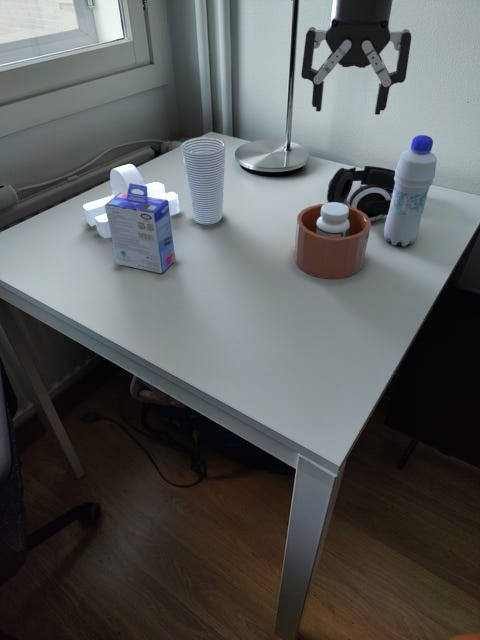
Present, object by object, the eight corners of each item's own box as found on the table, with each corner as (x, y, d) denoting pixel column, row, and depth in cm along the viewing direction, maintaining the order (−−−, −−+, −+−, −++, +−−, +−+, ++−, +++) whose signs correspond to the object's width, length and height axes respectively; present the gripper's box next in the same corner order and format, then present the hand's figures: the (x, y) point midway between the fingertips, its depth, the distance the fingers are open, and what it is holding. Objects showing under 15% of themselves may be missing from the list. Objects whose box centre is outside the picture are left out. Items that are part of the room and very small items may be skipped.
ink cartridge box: (177, 258, 87) (168, 185, 77) (163, 275, 83) (152, 200, 73) (131, 249, 89) (116, 178, 80) (116, 264, 85) (99, 191, 76)
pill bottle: (325, 245, 88) (331, 197, 82) (350, 256, 85) (359, 207, 79) (306, 257, 85) (311, 208, 79) (331, 269, 82) (338, 220, 76)
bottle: (388, 227, 94) (411, 126, 80) (421, 237, 91) (450, 134, 77) (375, 242, 90) (396, 138, 76) (409, 253, 87) (437, 146, 73)
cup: (204, 232, 93) (198, 157, 83) (180, 217, 98) (171, 144, 88) (236, 218, 98) (234, 145, 87) (211, 204, 102) (206, 133, 92)
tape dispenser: (85, 220, 98) (72, 171, 91) (159, 196, 106) (153, 149, 99) (104, 239, 92) (92, 188, 85) (181, 212, 100) (176, 163, 93)
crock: (363, 244, 89) (370, 206, 84) (362, 282, 80) (370, 243, 75) (298, 238, 91) (301, 200, 86) (290, 274, 82) (293, 235, 77)
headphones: (315, 165, 97) (379, 153, 107) (308, 200, 102) (370, 186, 112) (378, 197, 86) (443, 181, 96) (367, 234, 91) (430, 215, 101)
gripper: (305, -22, 56) (296, 117, 67) (428, -21, 54) (398, 122, 64) (311, -28, 62) (302, 101, 72) (422, -28, 59) (396, 106, 70)
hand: (347, 111), depth 68 cm, fingers open, 8 cm apart
